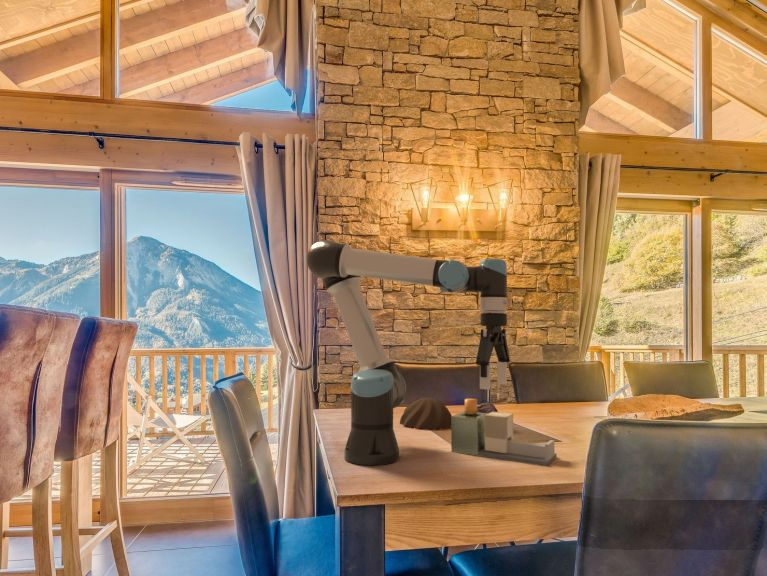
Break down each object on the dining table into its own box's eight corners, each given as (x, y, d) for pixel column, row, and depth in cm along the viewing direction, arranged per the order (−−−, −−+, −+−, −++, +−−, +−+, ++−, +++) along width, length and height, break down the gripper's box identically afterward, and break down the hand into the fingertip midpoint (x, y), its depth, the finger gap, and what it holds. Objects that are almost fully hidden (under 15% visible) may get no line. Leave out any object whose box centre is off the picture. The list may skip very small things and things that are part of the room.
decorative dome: (460, 422, 187) (460, 395, 188) (442, 432, 170) (442, 402, 170) (413, 417, 196) (413, 392, 197) (391, 427, 178) (391, 398, 179)
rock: (466, 434, 172) (494, 436, 167) (464, 409, 172) (492, 411, 167) (477, 422, 182) (504, 424, 178) (475, 399, 182) (502, 401, 177)
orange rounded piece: (474, 415, 144) (474, 400, 144) (462, 414, 146) (462, 399, 146) (479, 413, 147) (478, 399, 148) (467, 412, 149) (467, 398, 149)
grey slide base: (547, 466, 129) (546, 446, 130) (477, 455, 140) (477, 437, 140) (556, 457, 138) (556, 438, 138) (490, 447, 148) (490, 430, 148)
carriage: (505, 453, 137) (505, 417, 138) (484, 450, 140) (484, 415, 141) (513, 448, 143) (513, 413, 143) (493, 445, 146) (492, 411, 147)
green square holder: (477, 455, 140) (477, 419, 140) (451, 451, 144) (451, 416, 145) (490, 447, 148) (490, 413, 149) (465, 444, 152) (465, 411, 153)
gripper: (490, 311, 132) (490, 392, 131) (519, 313, 153) (520, 383, 152) (464, 311, 136) (463, 390, 135) (496, 313, 157) (496, 381, 156)
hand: (493, 386), depth 143 cm, fingers open, 13 cm apart
